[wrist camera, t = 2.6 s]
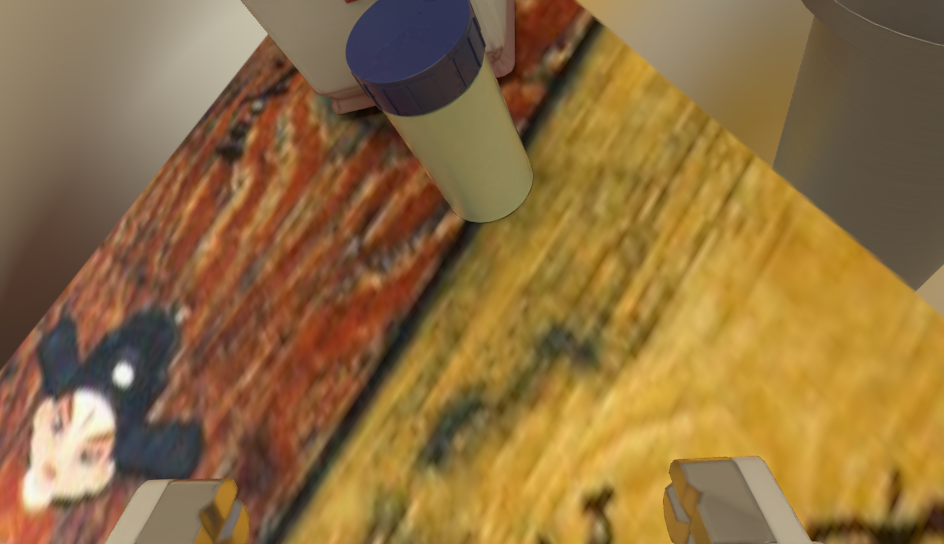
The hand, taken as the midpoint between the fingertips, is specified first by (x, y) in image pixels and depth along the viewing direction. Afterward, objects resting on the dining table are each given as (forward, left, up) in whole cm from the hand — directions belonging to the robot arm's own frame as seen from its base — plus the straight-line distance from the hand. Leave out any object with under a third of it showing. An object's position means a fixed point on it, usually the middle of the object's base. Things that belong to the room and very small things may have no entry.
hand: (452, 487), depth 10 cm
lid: (-7, -18, -5) cm, 20 cm away
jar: (-7, -18, -17) cm, 26 cm away
